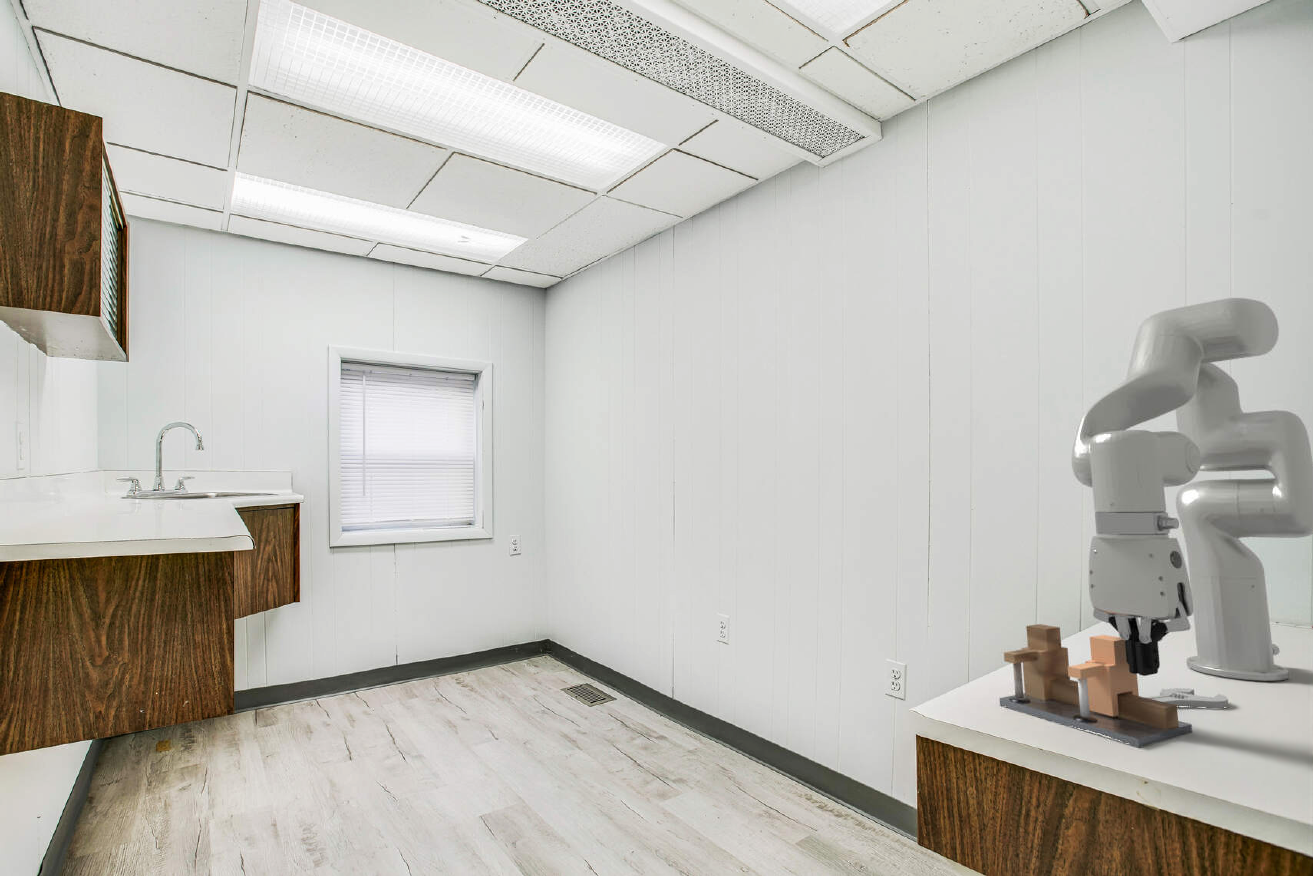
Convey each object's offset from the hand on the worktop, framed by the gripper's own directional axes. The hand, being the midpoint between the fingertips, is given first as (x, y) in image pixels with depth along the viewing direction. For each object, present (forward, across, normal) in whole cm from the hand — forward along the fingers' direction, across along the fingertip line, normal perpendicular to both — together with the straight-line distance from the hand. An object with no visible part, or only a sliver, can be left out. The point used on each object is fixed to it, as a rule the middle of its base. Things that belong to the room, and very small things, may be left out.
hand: (1143, 672), depth 82 cm
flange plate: (+7, +6, +2) cm, 9 cm away
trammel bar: (+6, +6, +2) cm, 9 cm away
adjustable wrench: (+8, +6, -9) cm, 13 cm away
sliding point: (+6, +4, +2) cm, 7 cm away
